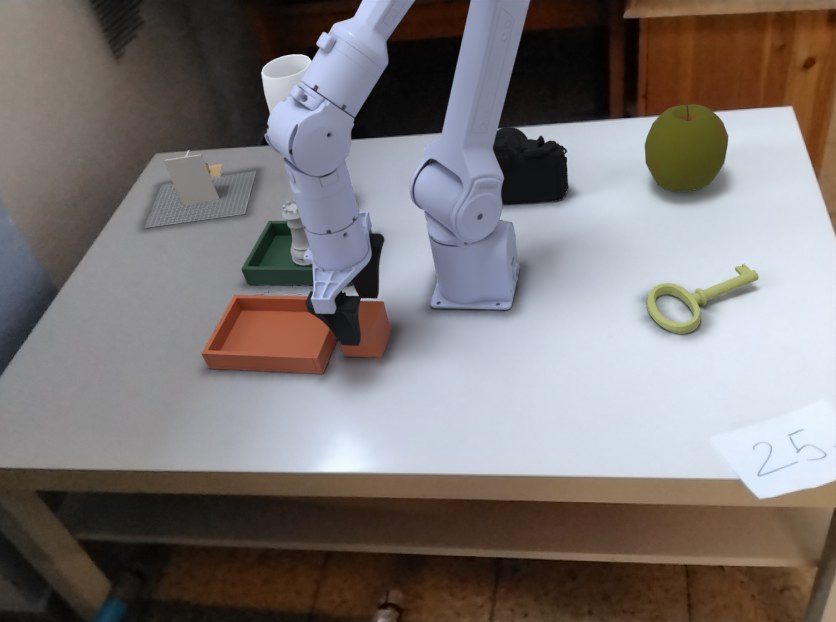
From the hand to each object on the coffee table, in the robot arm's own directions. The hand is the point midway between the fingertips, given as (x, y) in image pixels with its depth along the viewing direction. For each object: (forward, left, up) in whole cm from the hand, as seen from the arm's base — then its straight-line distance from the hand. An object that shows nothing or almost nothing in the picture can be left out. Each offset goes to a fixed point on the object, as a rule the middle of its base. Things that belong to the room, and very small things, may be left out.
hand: (360, 319), depth 91 cm
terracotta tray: (+11, 0, -4) cm, 12 cm away
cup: (+13, -26, -4) cm, 29 cm away
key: (-36, -8, -4) cm, 37 cm away
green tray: (+12, -15, -4) cm, 20 cm away
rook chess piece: (+12, -15, -3) cm, 19 cm away
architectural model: (+34, -29, -4) cm, 45 cm away
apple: (-34, -31, -4) cm, 46 cm away
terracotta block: (0, 0, -4) cm, 4 cm away
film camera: (-12, -31, -4) cm, 34 cm away
